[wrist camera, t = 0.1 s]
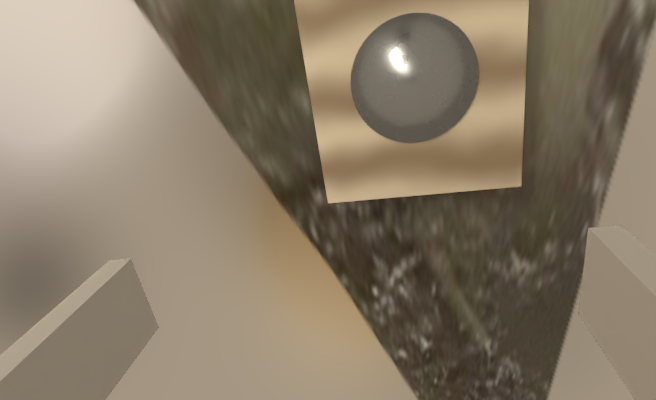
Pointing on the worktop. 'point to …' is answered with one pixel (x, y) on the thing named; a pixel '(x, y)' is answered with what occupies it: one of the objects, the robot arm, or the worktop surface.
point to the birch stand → (416, 94)
